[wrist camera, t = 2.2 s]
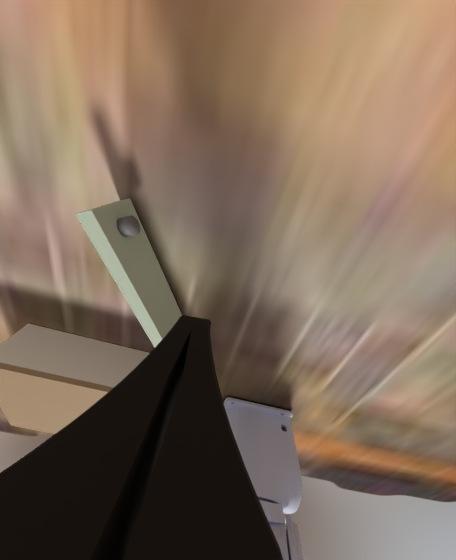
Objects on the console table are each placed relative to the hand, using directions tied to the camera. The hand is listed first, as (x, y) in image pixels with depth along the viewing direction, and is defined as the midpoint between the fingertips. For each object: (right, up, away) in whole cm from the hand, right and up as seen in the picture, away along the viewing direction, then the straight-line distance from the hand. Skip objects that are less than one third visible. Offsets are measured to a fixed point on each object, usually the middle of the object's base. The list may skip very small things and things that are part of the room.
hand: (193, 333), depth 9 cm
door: (-3, 0, +9) cm, 10 cm away
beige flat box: (-12, -10, +16) cm, 23 cm away
